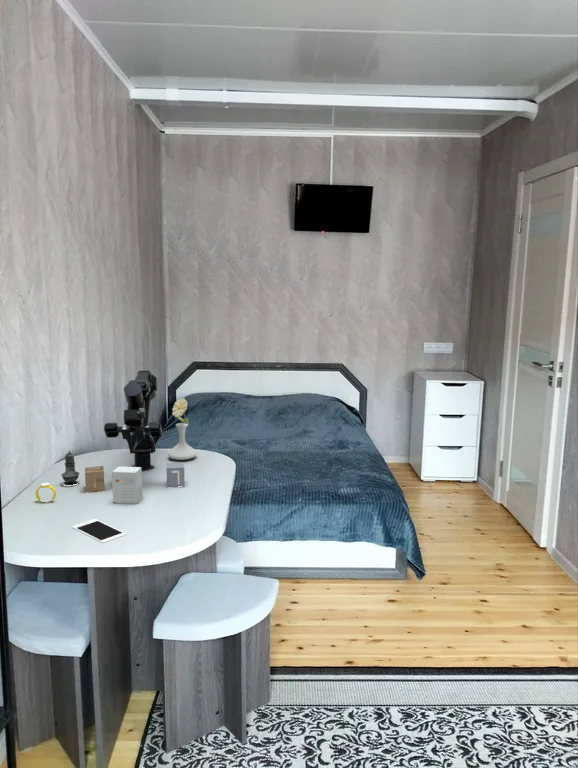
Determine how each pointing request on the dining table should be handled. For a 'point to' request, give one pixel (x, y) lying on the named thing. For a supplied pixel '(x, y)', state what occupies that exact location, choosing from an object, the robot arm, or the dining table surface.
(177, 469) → the slate block
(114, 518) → the dining table surface
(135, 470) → the small box
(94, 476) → the brown cardboard box
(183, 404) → the flower in vase
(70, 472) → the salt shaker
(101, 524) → the cell phone
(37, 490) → the watch
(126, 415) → the robot arm
